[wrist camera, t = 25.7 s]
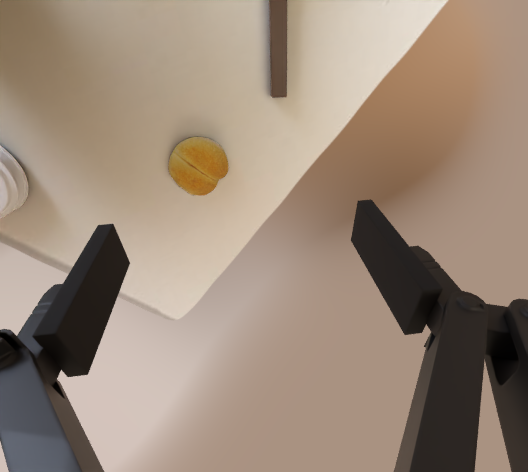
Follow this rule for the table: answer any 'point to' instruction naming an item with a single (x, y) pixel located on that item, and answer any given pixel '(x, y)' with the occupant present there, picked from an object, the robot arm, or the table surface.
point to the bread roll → (198, 165)
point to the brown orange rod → (278, 47)
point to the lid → (11, 184)
